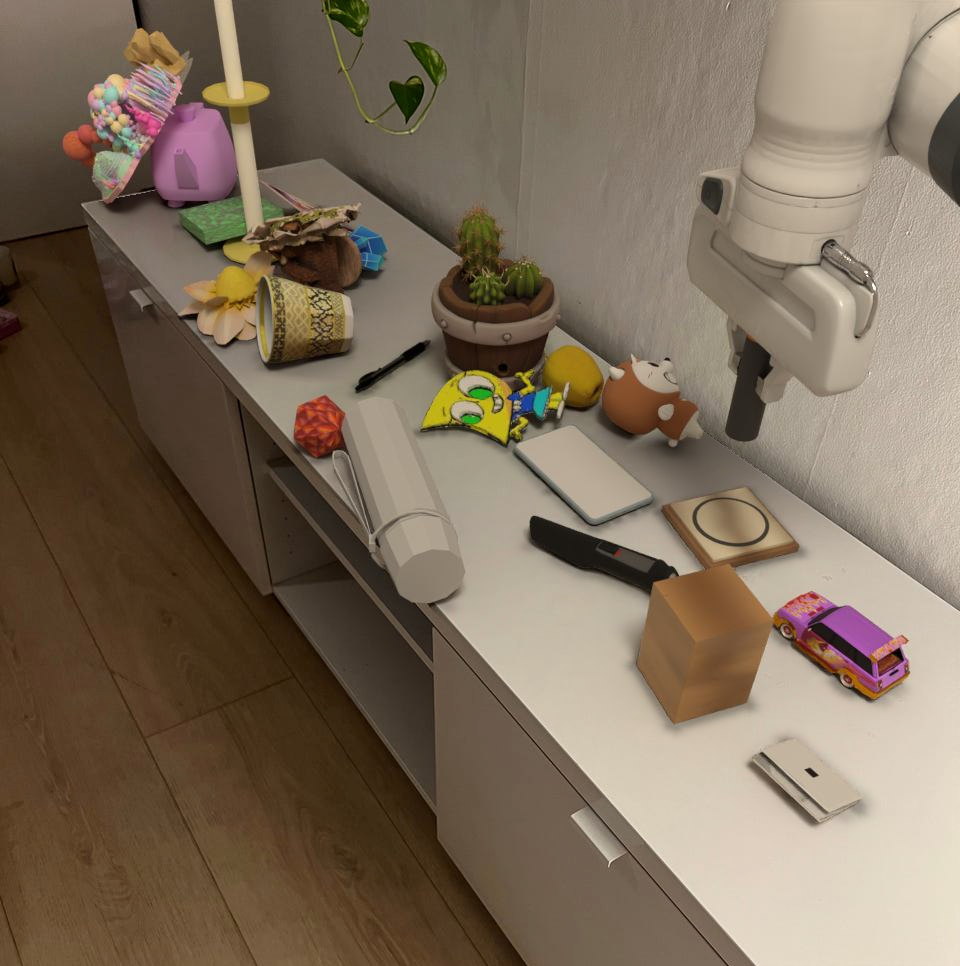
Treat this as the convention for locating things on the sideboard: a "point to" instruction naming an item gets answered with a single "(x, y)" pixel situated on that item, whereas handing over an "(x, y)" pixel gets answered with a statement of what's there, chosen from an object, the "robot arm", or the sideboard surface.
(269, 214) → the green jade tablet
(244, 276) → the decorative flower
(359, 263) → the gemstone
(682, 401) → the figurine
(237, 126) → the candle
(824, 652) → the toy car
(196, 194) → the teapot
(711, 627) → the brown block
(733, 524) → the ringed wooden coaster
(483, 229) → the flowerpot
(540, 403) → the toy
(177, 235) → the sideboard surface
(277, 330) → the ceramic cup
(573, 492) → the smartphone
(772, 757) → the laptop
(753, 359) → the marker
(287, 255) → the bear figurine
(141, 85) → the candy platter
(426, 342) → the pen
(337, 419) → the decorative stone
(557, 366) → the apple
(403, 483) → the water bottle
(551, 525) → the electric trimmer
